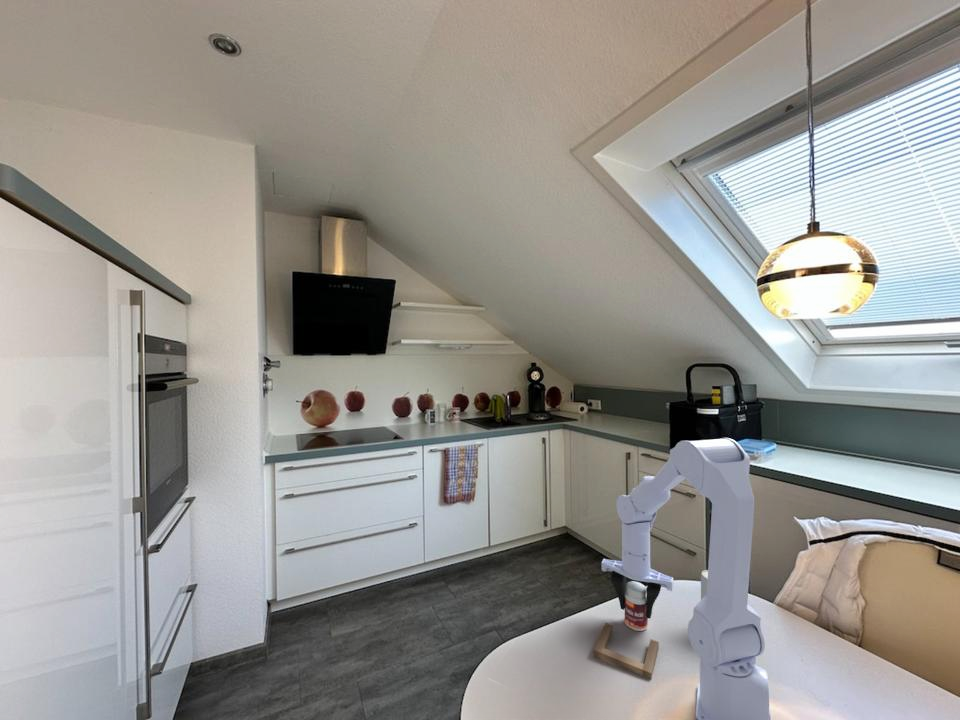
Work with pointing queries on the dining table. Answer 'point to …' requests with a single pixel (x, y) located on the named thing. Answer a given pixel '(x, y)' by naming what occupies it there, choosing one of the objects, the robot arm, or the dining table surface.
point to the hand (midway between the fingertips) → (636, 611)
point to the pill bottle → (636, 606)
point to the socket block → (621, 660)
